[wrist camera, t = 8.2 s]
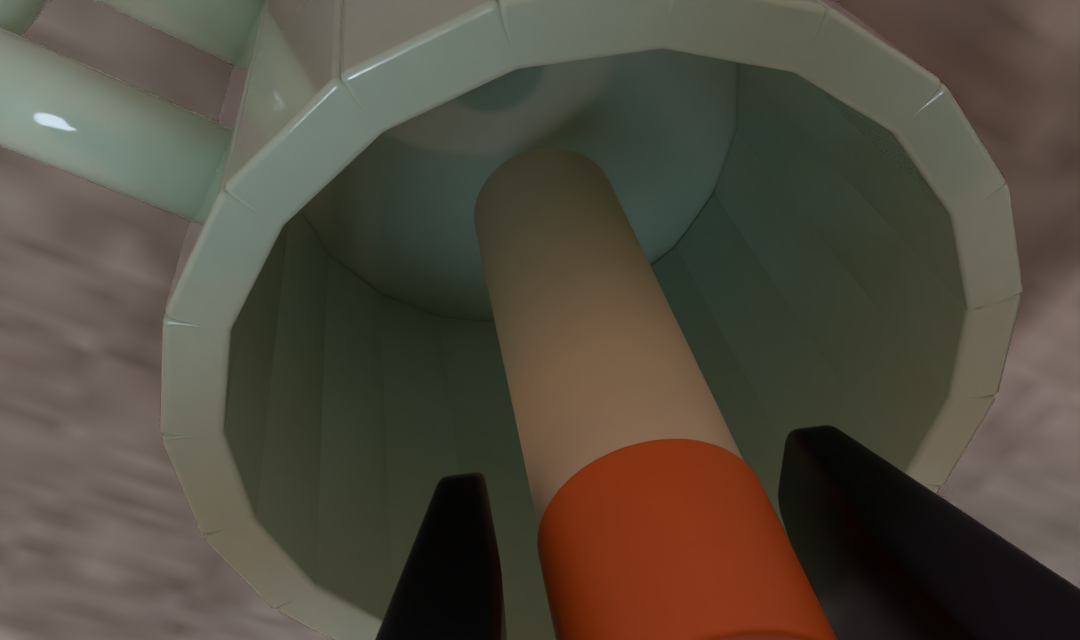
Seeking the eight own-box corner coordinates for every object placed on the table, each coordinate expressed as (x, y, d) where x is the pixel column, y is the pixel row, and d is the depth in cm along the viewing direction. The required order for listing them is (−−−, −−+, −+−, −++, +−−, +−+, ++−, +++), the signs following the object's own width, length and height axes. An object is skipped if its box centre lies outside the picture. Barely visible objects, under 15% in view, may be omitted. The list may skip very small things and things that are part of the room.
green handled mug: (860, 9, 17) (1191, 244, 10) (585, 384, 20) (696, 734, 14) (154, -464, 12) (-92, -602, 5) (-37, 142, 15) (-321, 505, 9)
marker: (556, 111, 13) (765, 586, 6) (646, 213, 14) (902, 707, 7) (438, 209, 13) (518, 739, 7) (533, 299, 14) (681, 831, 8)
